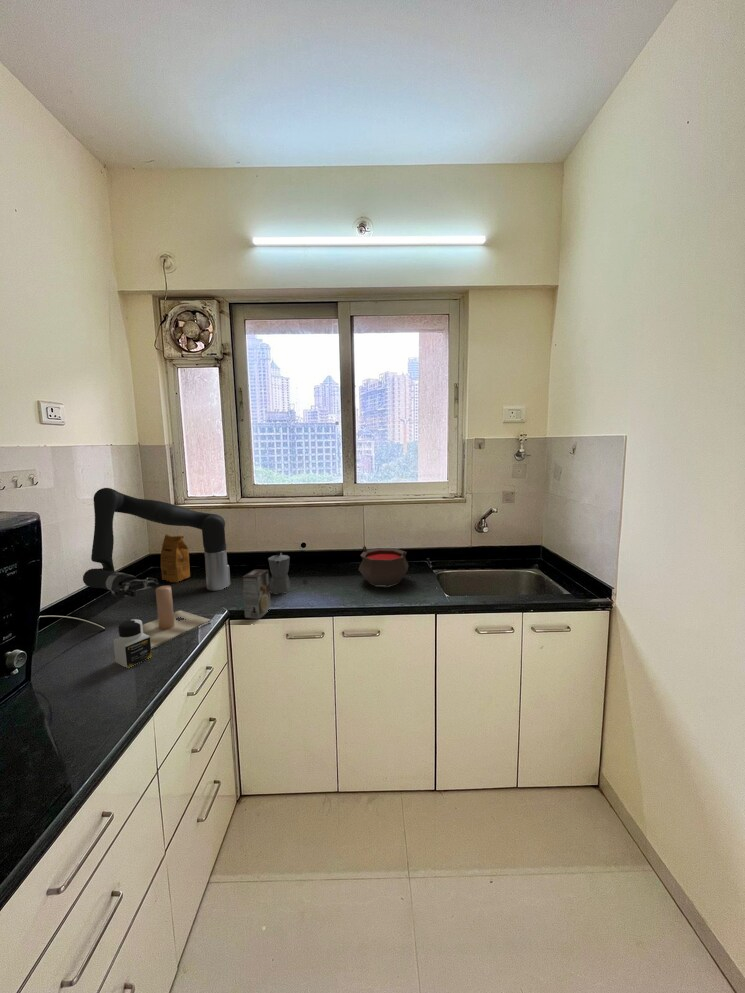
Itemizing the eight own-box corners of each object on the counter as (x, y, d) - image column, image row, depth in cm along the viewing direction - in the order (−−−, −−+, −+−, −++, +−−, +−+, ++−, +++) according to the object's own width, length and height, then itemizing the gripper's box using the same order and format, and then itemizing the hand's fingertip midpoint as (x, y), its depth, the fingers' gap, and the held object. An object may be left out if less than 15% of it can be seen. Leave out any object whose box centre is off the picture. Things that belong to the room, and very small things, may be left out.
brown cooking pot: (418, 579, 186) (418, 545, 184) (393, 595, 166) (393, 557, 164) (375, 571, 199) (375, 539, 197) (347, 585, 179) (347, 550, 177)
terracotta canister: (169, 622, 140) (165, 584, 138) (177, 625, 138) (174, 587, 136) (156, 627, 136) (152, 589, 134) (164, 630, 134) (160, 591, 132)
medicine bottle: (127, 669, 113) (123, 629, 111) (115, 662, 116) (111, 624, 115) (152, 657, 119) (148, 620, 117) (139, 651, 122) (136, 615, 121)
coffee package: (176, 574, 198) (172, 532, 195) (193, 577, 193) (190, 533, 190) (158, 580, 189) (154, 536, 187) (175, 584, 184) (172, 538, 181)
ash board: (180, 613, 151) (180, 610, 151) (211, 622, 142) (211, 619, 142) (120, 637, 132) (120, 633, 132) (151, 650, 123) (151, 646, 123)
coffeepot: (290, 595, 167) (288, 554, 165) (267, 597, 166) (265, 555, 164) (292, 583, 183) (291, 545, 180) (271, 584, 181) (270, 546, 179)
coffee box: (256, 608, 155) (254, 568, 153) (271, 609, 153) (269, 569, 151) (244, 618, 146) (241, 576, 144) (260, 619, 145) (257, 577, 143)
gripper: (100, 579, 143) (124, 586, 135) (139, 568, 155) (164, 574, 147) (102, 599, 144) (127, 607, 136) (141, 586, 156) (166, 593, 148)
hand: (146, 590), depth 141 cm, fingers open, 8 cm apart
